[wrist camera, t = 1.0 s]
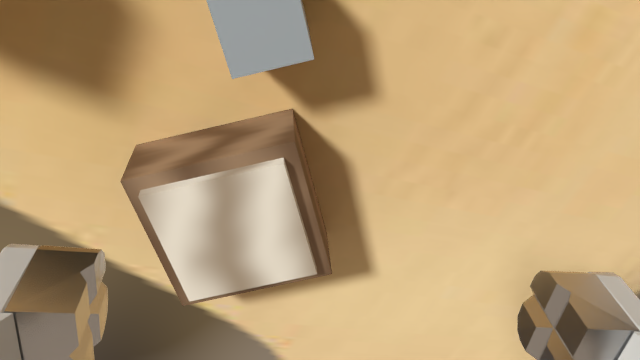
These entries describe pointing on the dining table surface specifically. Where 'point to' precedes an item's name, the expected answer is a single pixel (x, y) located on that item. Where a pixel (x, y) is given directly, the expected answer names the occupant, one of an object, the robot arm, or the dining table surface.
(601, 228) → the dining table surface
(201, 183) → the walnut block
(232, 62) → the slate block
